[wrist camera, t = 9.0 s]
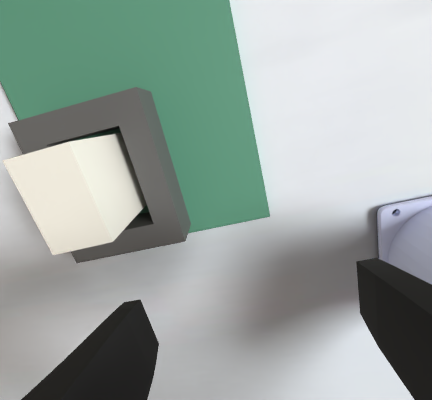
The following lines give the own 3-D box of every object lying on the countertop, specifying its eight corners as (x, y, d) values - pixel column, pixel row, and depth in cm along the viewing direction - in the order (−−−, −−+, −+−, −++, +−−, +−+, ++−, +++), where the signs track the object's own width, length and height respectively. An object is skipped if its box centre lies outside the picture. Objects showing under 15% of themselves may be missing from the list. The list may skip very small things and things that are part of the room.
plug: (127, 131, 15) (68, 141, 10) (151, 198, 17) (112, 241, 11) (83, 143, 16) (2, 160, 10) (111, 208, 17) (53, 255, 11)
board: (213, -79, 12) (209, -136, 9) (269, 213, 17) (277, 233, 14) (-28, 7, 14) (-93, -20, 11) (86, 251, 19) (61, 275, 16)
